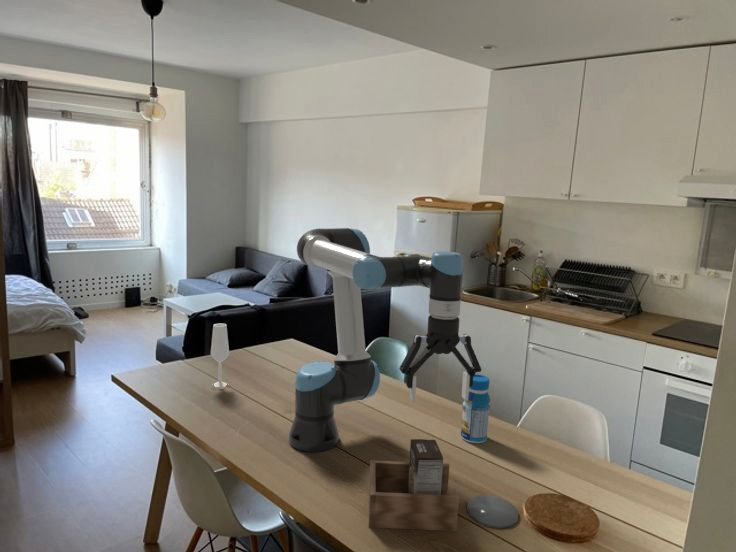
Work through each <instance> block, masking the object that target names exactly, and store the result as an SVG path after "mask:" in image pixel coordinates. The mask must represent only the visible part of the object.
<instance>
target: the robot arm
mask: <svg viewBox="0 0 736 552" xmlns="http://www.w3.org/2000/svg"><path fill="white" fill-rule="evenodd" d="M368 240H369V239H368V238H367V236H366V235H365V233H363V231H361V230H360V229H357V228H349V227H343V228H342V227H341V228H340V227H338V228H314V229H311V230H308V231H306V232H305V233H304V234H302V236H300V238H299V239H298V242H297V245H296V254H297V256H298V258H299V260H300V261H301V263H303V264H304V265H306V266H308V267H311V268H314V269H321V268H323V269H325V270H326V273H327V274H328V275H330V276H331V278H332V288H333V290H332V291H333V302H334V304H333V305H334V314H335V315H334V316H335V327H336V339H337V340H336V341H337V352H338V353H336V354H337V355H336V356H335V357H334V358H333V361H334V362H333V363H334V364H333V363H332V362H329V361H313V362H309V363H307V364H304V365H302V366H301V367H300V368H298V370H297V372H296V376H295V382H294V385H295V386H294V387H295V394H294V395H295V397H294V399H295V402H294V403H295V405H294V410H295V411H294V418H293V421H292V423H291V426H290V429H289V431H288V443H289V445H290V446H291V447H292V448H294V449H296V450H299V451H302V452H309V453H317V452H324V451H328V450H330V449H333V448H334V447H335V446H337V445H338V443H339V438H340V437H339V434H340V433H339V429H338V425H337V423H336V419H335V415H334V413H335V406H336V405H341V404H345V403H351V402H356V401H363V400H364V399H368V398H371V397H373V396H374V395H375V394H376V392H377V391H378V389H379V387H380V382H381V373H380V369H379V368H378V364H377V363H376V362H375V360H372V357H371V354H369V353H368V352H367V351H366V341H365V340H366V339H365V328H364V315H363V314H364V313H363V304H362V292H361V291H362V290H379V289H391V288H400V287H401V288H403V287H412V286H414V287H415V286H417V287H418V286H419V287H425V288H428V289H429V294H428V295H429V297H428V298H429V299H428V300H429V301H428V314H429V316H428V317H427V318H428V319H427V333H426V335H420V334H417V333H416V334H414V336H413V341H412V344H411V346H410V348H409V350H408V352H407V353H406V355H405V357H404V359H403V361H402V362H401V364H400V366H399V371H400V372H401V374H403V375H406V381H405V382H406V383H405V385H406V387H407V388H408V389H409V393H408V394H409V396H408V398H409V400H410V401H411V403H415V402H416V395H417V394H416V391H417V376H416V373H417V372H418V370H419V369H420V368H421V367H422V366H423V365H424V363H426V362H427V360H428V359H429V358H430V357H432V356H433V355H434V354H436V355H442V354H444V355H449V354H451V353H452V354H453V355H454V356H455V357H456V360H458V362H459V363H460V364H461V365H462V367H463V368H464V370H466V371H463V372H462V384H461V385H462V387H461V397H462V399H463V401H464V400H465V401H468V396H469V387H470V386H472V385H473V376H474V375H475V374H477V373H480V372H482V368H481V365H480V362H479V360H478V358H477V355H476V354H475V350H474V348H473V346H472V337H471V336H470V335H468V334H467V333H464V334H463V335H459V332H460V330H459V329H460V318H459V317H460V315H461V302H462V301H461V300H462V298H461V297H462V285H463V276H464V275H463V274H464V257H463V255H462V254H461V253H459V252H456V251H455V252H454V251H441V250H440V251H434V252H433V253H432V254H431V257H429V256H424V255H421V254H419V253H418V254H417V253H416V254H412V253H411V254H410V253H408V254H407V253H406V254H404V255H403V256H384V257H383V256H377V255H374V254H371V248H370V243H369V241H368ZM425 342H426V344H427V345H426V346H425V347H424V349H423V350H422V351H421V353H420V354H419V355H418V356H417V358H415V357H416V355H417V354H418V351H419V350H420V348H421V346H422V345H424V343H425ZM459 343H461V344H462V345H463V346H464V349H465V351H466V353H467V356H468V358H469V361H470V363H471V365H472V366H471V365H470V364H469V363H468V361H467V360H466V359H465V358H464V356H463V355H462V354H461V353H460V351H459V350H458V348H457V346H458V345H459ZM414 359H415V360H414Z"/></svg>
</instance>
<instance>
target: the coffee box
mask: <svg viewBox="0 0 736 552" xmlns="http://www.w3.org/2000/svg"><path fill="white" fill-rule="evenodd" d="M409 447H410V449H409V462H410V464H409V482H408V494H428V495H441V483H442V470H443V463H444V456H443V454H442V452H441V450H440V447H439V445H438V443H437V440H436V439H421V438H420V439H419V438H418V439H416V438H415V439H412V438H411V439H410V446H409Z"/></svg>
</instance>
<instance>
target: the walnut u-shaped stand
mask: <svg viewBox="0 0 736 552" xmlns="http://www.w3.org/2000/svg"><path fill="white" fill-rule="evenodd" d="M369 462H370V465H369V467H370V468H369V481H368V482H369V485H368V487H369V488H368V528H382V529H398V530H399V529H402V530H403V529H404V530H424V531H425V530H426V531H428V530H429V531H445V532H446V531H447V532H448V531H449V532H451V531H452V532H453V531H454V532H456V531H457V526H458V516H459V514H458V512H459V502H460V499H459V495H448V493H449V491H448V489H449V481H450V480H449V478H450V477H449V476H450V463H444V462H443V470H442V483H441V495H428V494H408V482H409V464H410V461H394V460H373V459H372V460H369Z"/></svg>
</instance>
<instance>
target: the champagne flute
mask: <svg viewBox="0 0 736 552" xmlns="http://www.w3.org/2000/svg"><path fill="white" fill-rule="evenodd" d="M227 326H228V325H227V324H226V323H214V324H213V326H212V335H211V336H212V337H211V347H210V356H211V357H212V359H213V360H215V361H216V362H217V363H218V365H217V366H218V367H217V369H218V372H217V373H218V377H217V378H218V381H217V382H215V383H213V384H214V386H215V387H225V386H226V385H227V384H228V383H226V382H224V381H222V376H223V375H222V374H223V373H222V367H223V366H222V364H223V361H225V360H226V359H227V358H228V357H229V355H230V349H229V348H230V347H229V339H228V338H229V337H228V328H227Z"/></svg>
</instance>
